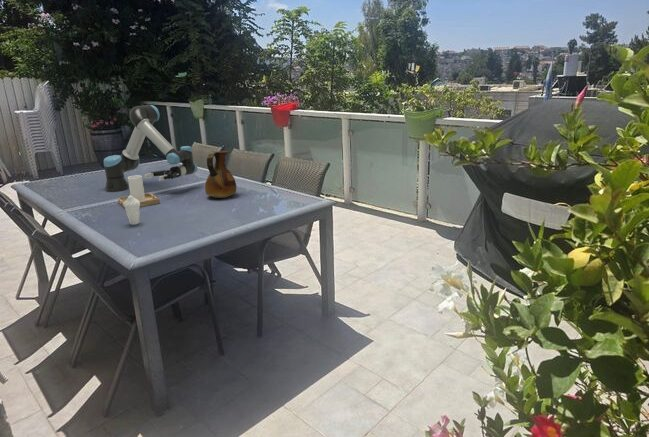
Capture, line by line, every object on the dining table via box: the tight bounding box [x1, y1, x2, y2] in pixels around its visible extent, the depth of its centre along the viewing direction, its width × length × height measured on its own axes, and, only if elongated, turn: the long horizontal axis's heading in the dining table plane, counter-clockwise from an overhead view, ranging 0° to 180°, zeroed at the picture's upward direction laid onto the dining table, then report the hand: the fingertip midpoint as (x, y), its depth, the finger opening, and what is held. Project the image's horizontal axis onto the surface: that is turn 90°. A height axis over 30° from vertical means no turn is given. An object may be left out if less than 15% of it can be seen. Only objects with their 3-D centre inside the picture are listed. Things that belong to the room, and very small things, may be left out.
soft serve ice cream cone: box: [123, 194, 141, 226], centre depth 244 cm, size 8×8×16 cm
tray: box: [117, 192, 161, 209], centre depth 286 cm, size 20×20×3 cm
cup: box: [127, 174, 146, 202], centre depth 283 cm, size 8×8×16 cm
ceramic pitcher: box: [204, 150, 237, 199], centre depth 292 cm, size 20×20×30 cm
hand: (151, 177), depth 291 cm, fingers open, 13 cm apart
